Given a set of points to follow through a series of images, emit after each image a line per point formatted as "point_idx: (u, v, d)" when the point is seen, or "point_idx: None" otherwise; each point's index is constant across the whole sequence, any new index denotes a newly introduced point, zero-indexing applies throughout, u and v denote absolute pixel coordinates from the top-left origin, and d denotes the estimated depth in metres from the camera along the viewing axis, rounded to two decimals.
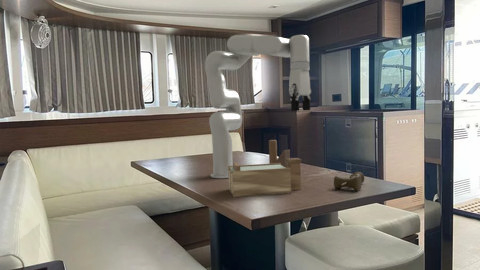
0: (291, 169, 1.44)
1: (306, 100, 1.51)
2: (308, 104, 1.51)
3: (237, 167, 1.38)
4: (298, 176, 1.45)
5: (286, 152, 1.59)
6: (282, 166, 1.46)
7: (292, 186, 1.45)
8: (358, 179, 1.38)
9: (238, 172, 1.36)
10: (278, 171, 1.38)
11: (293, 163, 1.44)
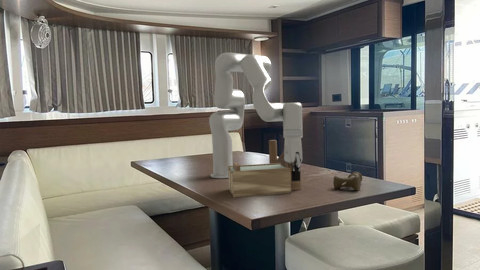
0: (291, 169, 1.44)
1: None
2: None
3: (237, 167, 1.38)
4: None
5: None
6: (282, 166, 1.46)
7: (292, 186, 1.45)
8: (358, 179, 1.39)
9: (238, 172, 1.36)
10: (278, 171, 1.38)
11: None
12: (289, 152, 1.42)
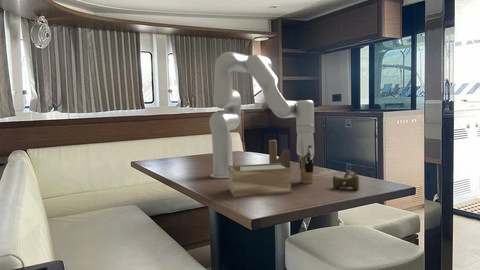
0: (304, 164, 1.55)
1: None
2: None
3: (237, 167, 1.38)
4: None
5: (286, 152, 1.59)
6: (282, 166, 1.46)
7: (304, 180, 1.56)
8: (357, 178, 1.40)
9: (238, 172, 1.36)
10: (278, 171, 1.38)
11: None
12: (302, 146, 1.53)
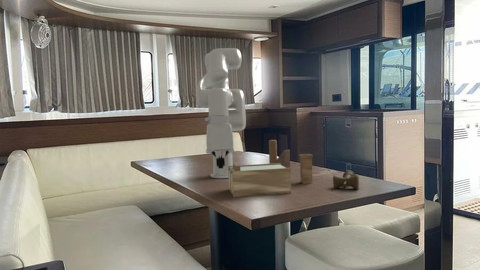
0: (303, 164, 1.55)
1: (219, 157, 1.42)
2: None
3: (237, 167, 1.38)
4: (310, 171, 1.56)
5: (286, 152, 1.59)
6: (282, 166, 1.46)
7: (304, 180, 1.56)
8: (358, 178, 1.41)
9: (238, 172, 1.36)
10: (278, 171, 1.38)
11: (305, 159, 1.55)
12: (229, 138, 1.39)
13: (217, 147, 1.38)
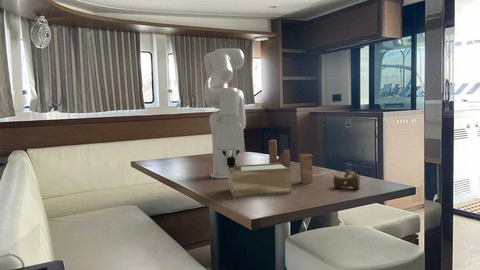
0: (303, 164, 1.55)
1: (230, 157, 1.42)
2: None
3: (238, 167, 1.38)
4: (310, 171, 1.56)
5: (286, 152, 1.59)
6: (283, 166, 1.46)
7: (304, 180, 1.56)
8: (358, 178, 1.41)
9: (238, 172, 1.36)
10: (278, 171, 1.38)
11: (305, 159, 1.55)
12: (240, 137, 1.40)
13: (228, 146, 1.39)
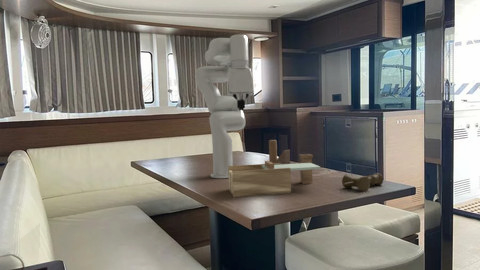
0: None
1: None
2: None
3: (271, 165, 1.40)
4: (310, 171, 1.56)
5: (286, 152, 1.59)
6: (313, 164, 1.48)
7: (304, 180, 1.56)
8: (363, 179, 1.37)
9: (238, 172, 1.36)
10: (278, 171, 1.38)
11: (305, 159, 1.55)
12: (249, 81, 1.51)
13: (238, 89, 1.50)
